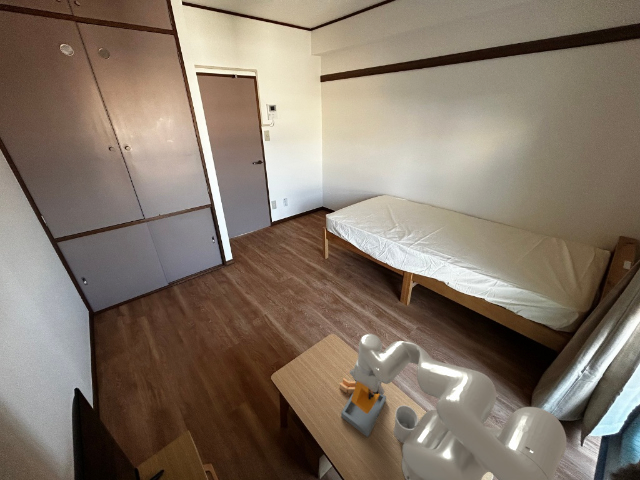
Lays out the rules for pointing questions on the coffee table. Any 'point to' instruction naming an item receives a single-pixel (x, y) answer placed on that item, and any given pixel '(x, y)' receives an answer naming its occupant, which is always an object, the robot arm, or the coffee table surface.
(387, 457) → the coffee table surface
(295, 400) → the coffee table surface
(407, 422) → the cup
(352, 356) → the coffee table surface
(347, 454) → the coffee table surface
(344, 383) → the clip
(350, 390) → the clip
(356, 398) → the bracket
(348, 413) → the gray tray
